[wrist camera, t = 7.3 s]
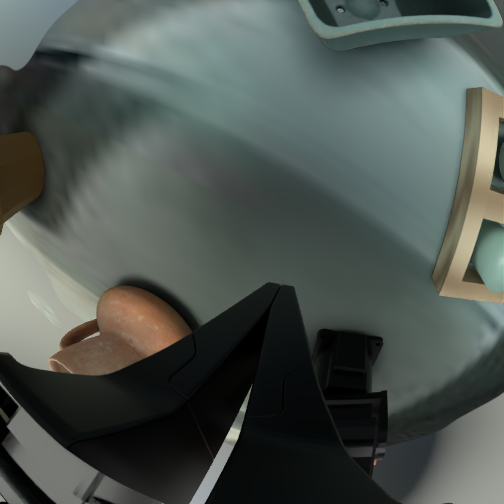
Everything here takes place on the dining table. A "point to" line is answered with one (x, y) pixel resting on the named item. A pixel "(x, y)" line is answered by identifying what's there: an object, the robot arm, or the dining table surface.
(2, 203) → the flowerpot
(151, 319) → the ceramic jug
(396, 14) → the flower pot
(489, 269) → the button
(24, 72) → the dining table surface
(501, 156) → the button
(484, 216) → the board
